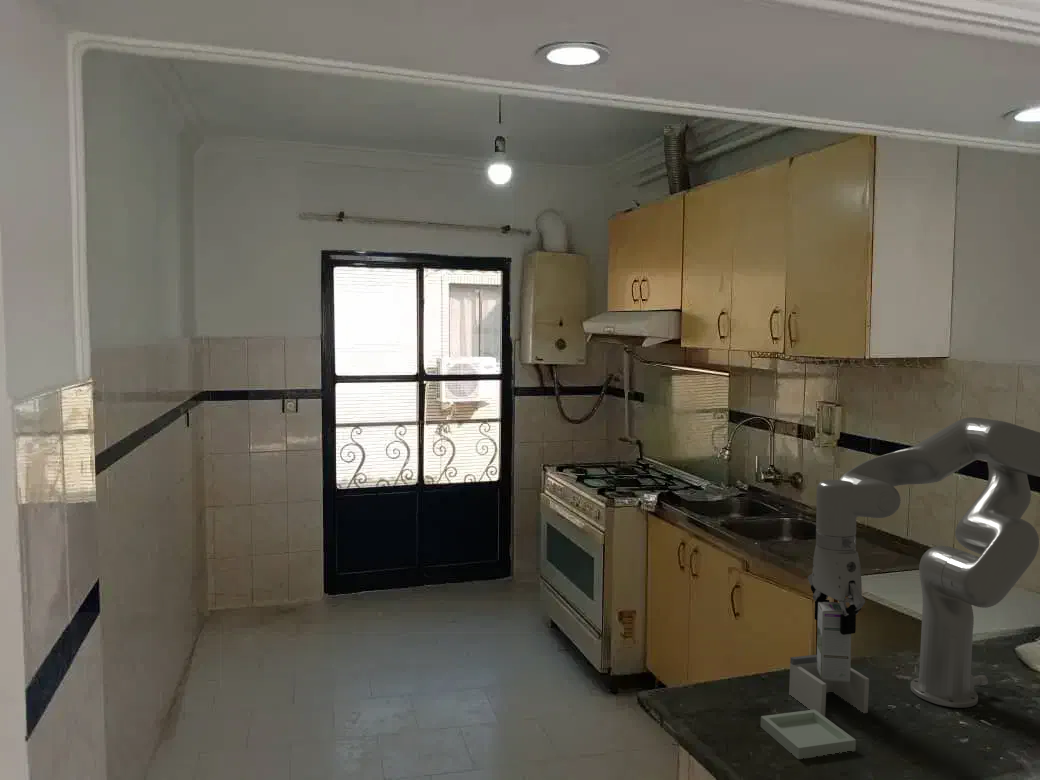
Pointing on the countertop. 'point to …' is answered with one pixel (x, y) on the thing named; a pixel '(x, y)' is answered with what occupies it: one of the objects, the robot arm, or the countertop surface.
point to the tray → (807, 734)
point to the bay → (824, 686)
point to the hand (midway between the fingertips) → (834, 625)
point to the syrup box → (832, 644)
